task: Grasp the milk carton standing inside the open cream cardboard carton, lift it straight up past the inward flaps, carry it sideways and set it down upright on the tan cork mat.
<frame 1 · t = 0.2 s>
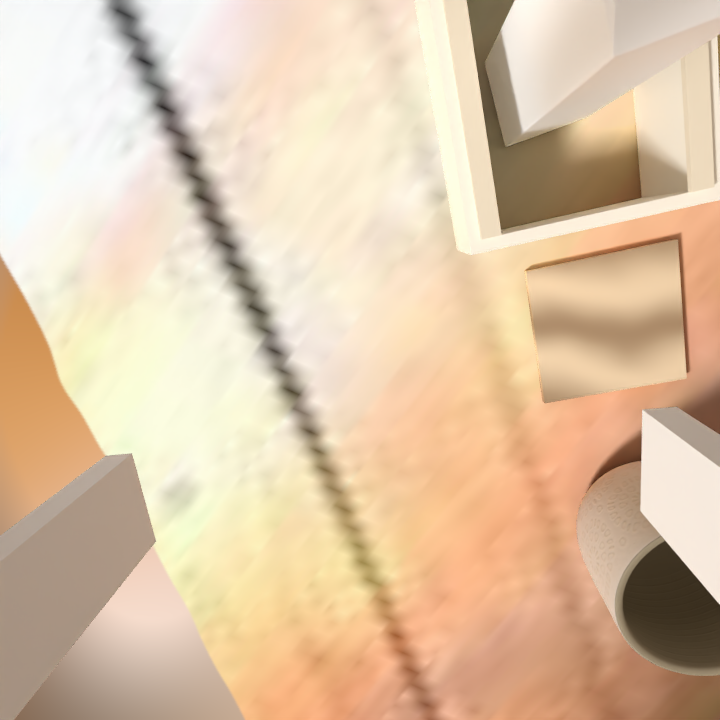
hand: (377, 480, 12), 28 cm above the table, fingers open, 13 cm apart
mat: (604, 324, 38), on the table
milk: (534, 91, 34), resting in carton
planter: (634, 507, 42), on the table
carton: (535, 90, 34), on the table
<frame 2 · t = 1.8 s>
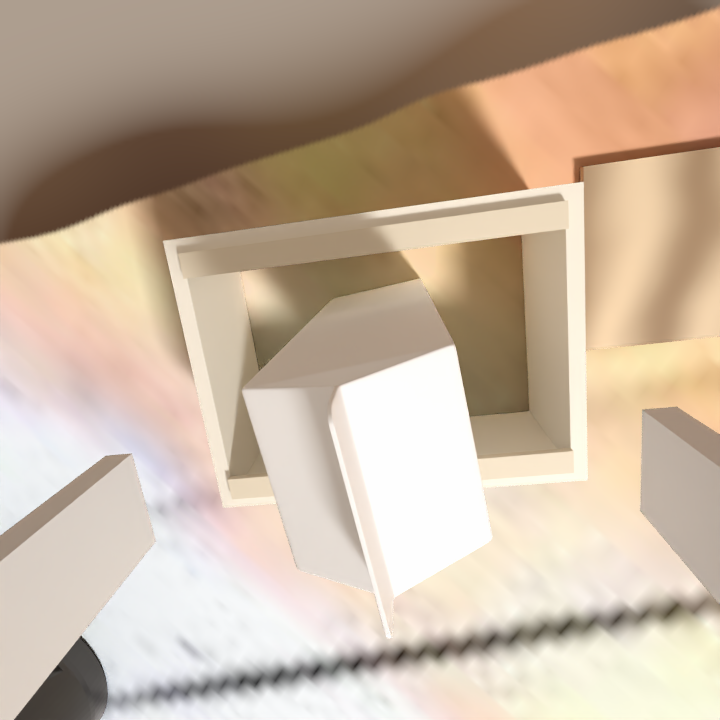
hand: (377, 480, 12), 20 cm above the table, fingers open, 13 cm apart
mat: (675, 250, 29), on the table
milk: (385, 331, 32), resting in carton
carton: (385, 332, 31), on the table
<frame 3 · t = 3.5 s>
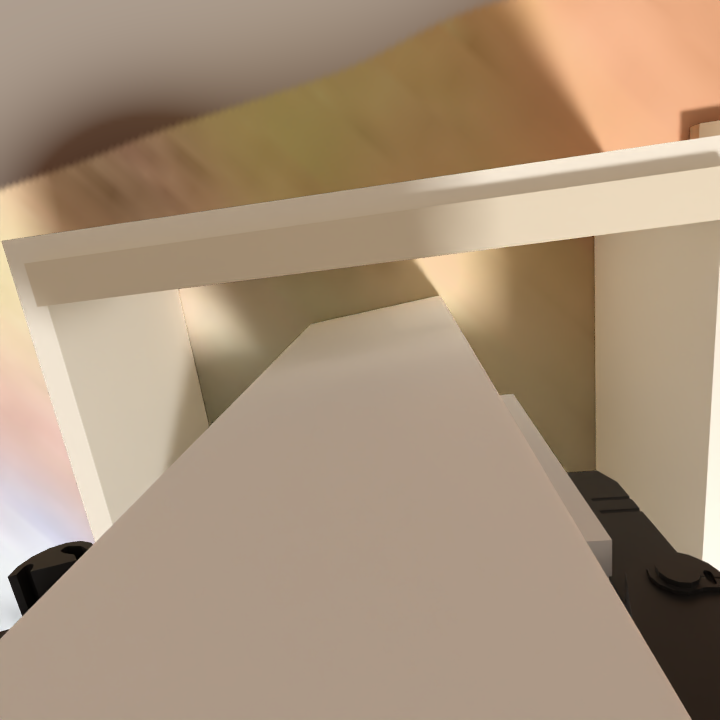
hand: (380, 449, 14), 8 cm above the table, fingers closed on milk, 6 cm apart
milk: (388, 371, 22), resting in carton, touching gripper
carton: (388, 372, 22), on the table
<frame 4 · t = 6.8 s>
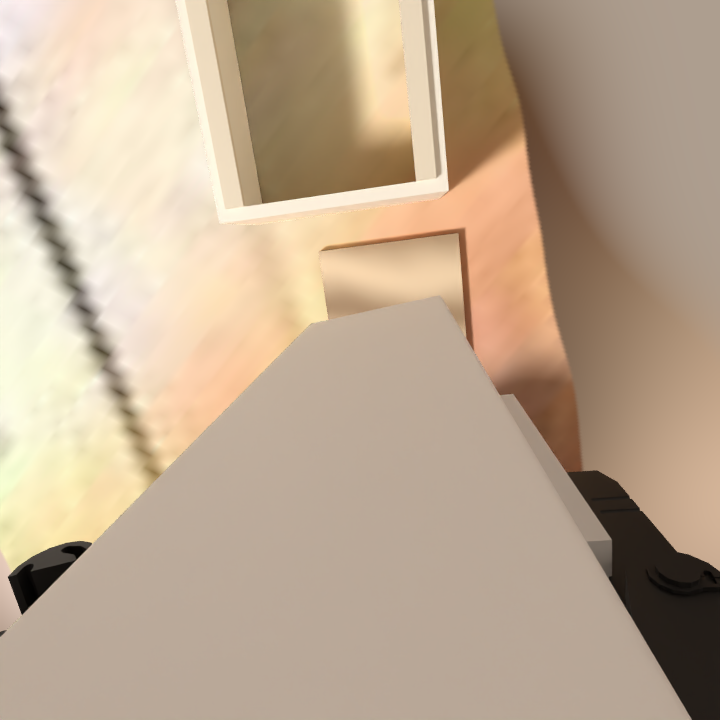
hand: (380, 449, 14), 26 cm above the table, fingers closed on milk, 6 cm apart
mat: (395, 310, 39), on the table
milk: (388, 371, 22), point 18 cm above the table, touching gripper
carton: (327, 74, 35), on the table
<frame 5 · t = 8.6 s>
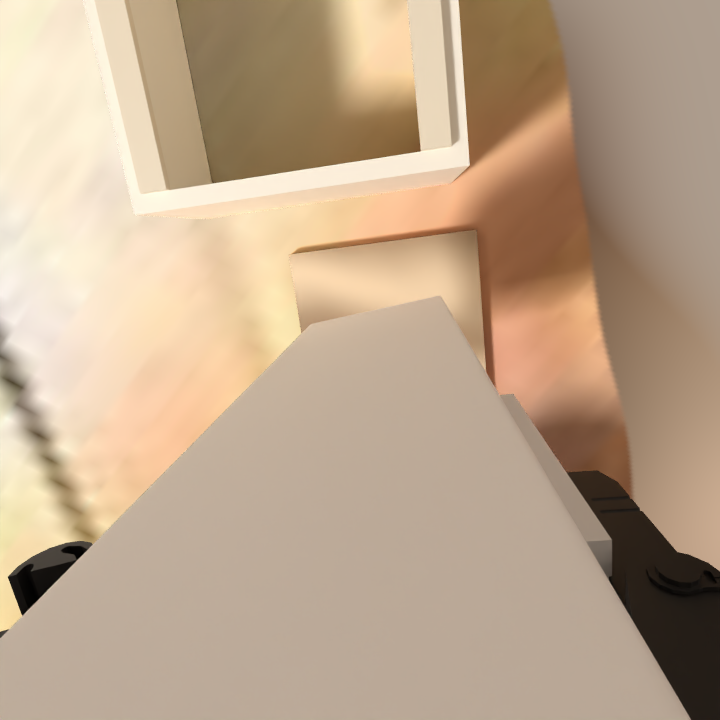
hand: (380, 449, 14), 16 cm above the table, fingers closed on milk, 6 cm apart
mat: (391, 332, 30), on the table
milk: (388, 371, 22), point 8 cm above the table, touching gripper
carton: (297, 10, 25), on the table
when the fingers open (10 cm above the table, at t = 10.2 s): milk drops 1 cm, resting on mat.
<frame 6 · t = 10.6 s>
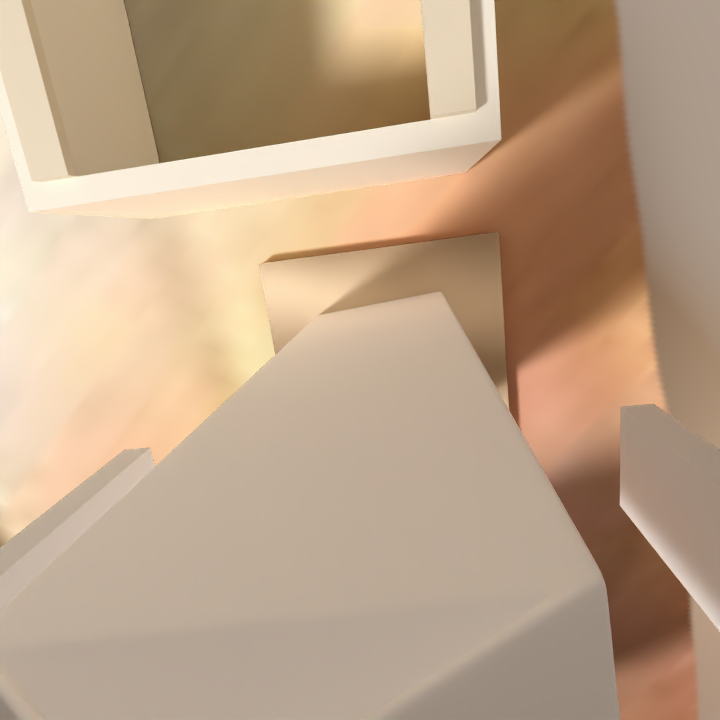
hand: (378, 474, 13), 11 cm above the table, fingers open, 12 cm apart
mat: (389, 361, 24), on the table
milk: (390, 362, 23), resting on mat
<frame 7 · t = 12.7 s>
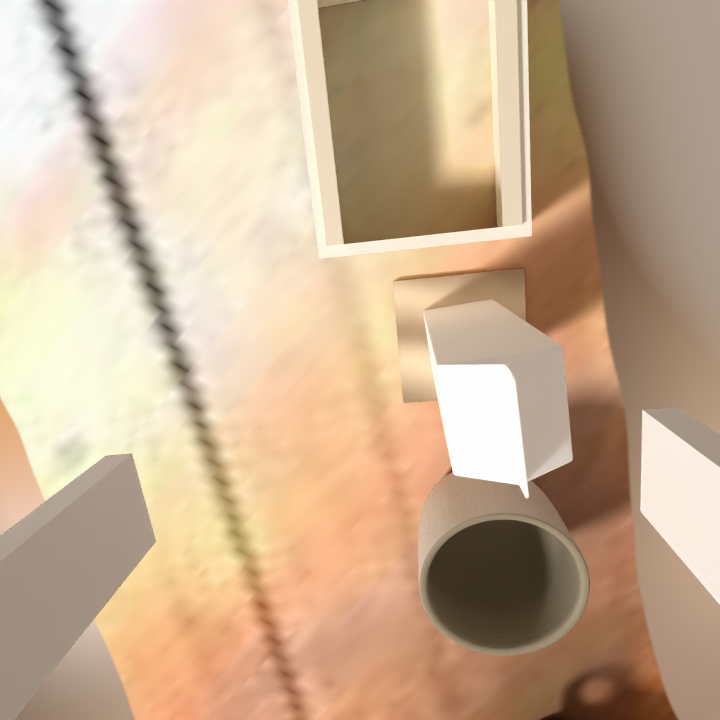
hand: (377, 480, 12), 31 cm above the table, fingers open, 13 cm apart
mat: (460, 337, 42), on the table
milk: (461, 337, 42), resting on mat
planter: (480, 507, 46), on the table
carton: (410, 122, 38), on the table
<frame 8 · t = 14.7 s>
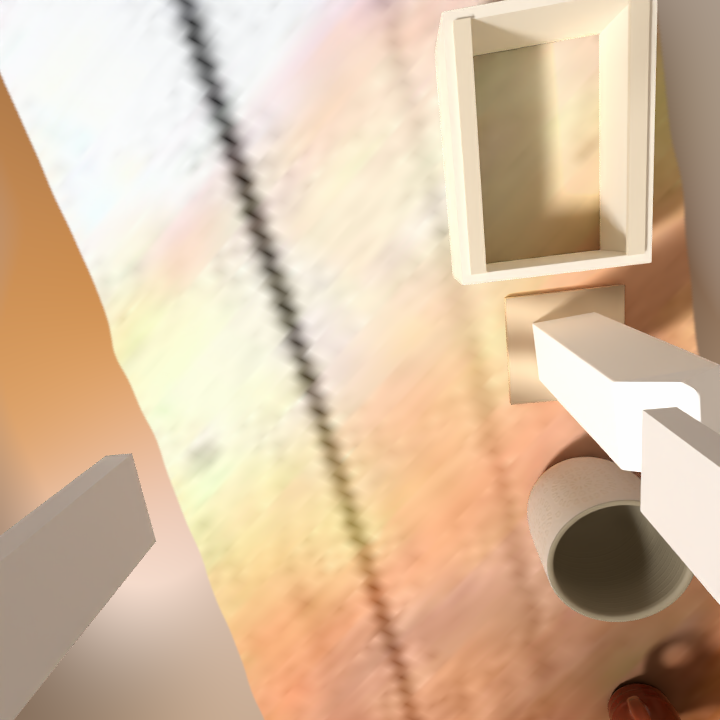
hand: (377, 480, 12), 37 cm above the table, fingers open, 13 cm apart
mat: (563, 345, 47), on the table
milk: (565, 346, 47), resting on mat
mug: (629, 690, 58), on the table
planter: (575, 495, 52), on the table
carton: (524, 158, 43), on the table
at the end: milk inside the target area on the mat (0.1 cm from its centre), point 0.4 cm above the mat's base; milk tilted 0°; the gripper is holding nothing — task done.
